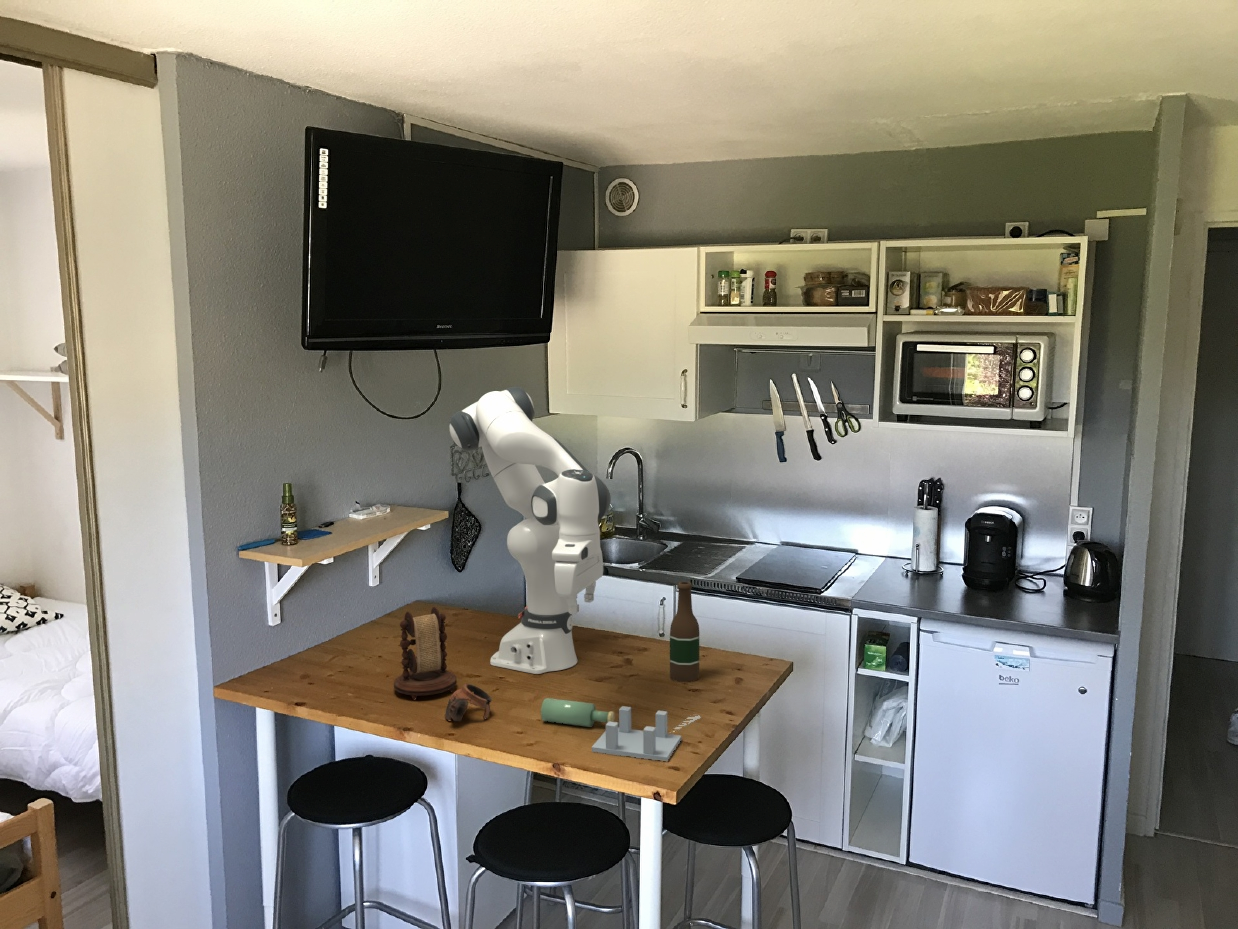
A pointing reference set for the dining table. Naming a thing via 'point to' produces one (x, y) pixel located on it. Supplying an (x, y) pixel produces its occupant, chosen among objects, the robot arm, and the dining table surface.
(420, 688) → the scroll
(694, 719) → the butter knife
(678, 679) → the beer bottle
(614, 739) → the rest
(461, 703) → the brown ring shaped device
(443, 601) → the dining table surface
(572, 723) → the bottle
